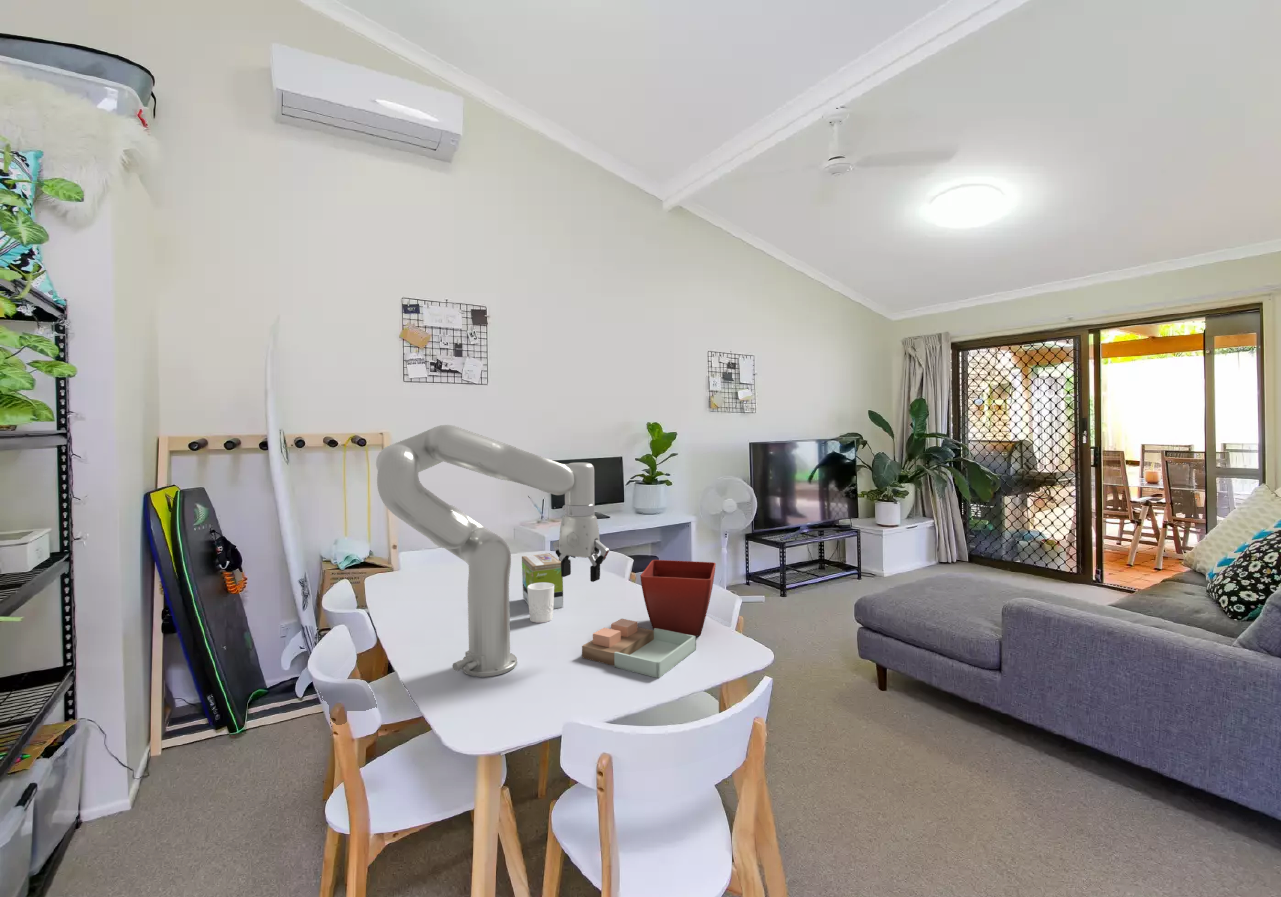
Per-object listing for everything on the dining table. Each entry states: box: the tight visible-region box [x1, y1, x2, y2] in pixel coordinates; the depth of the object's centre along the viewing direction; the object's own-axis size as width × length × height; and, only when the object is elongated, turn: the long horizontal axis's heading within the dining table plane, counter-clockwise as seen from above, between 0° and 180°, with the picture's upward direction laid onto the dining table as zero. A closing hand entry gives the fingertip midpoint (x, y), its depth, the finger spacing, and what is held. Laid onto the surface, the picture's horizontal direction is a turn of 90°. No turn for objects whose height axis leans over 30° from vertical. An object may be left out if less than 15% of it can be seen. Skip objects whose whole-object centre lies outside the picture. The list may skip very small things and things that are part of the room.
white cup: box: [527, 582, 554, 624], centre depth 169 cm, size 8×8×10 cm
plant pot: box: [640, 559, 717, 637], centre depth 160 cm, size 19×19×17 cm
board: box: [581, 626, 654, 667], centre depth 145 cm, size 18×10×3 cm, turn 149°
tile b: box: [610, 618, 639, 637], centre depth 149 cm, size 5×5×2 cm
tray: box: [614, 628, 697, 679], centre depth 139 cm, size 19×12×4 cm, turn 149°
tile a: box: [592, 627, 621, 647], centre depth 142 cm, size 5×5×2 cm
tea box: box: [521, 552, 564, 610], centre depth 184 cm, size 15×10×15 cm, turn 25°
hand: (580, 578), depth 146 cm, fingers open, 8 cm apart
